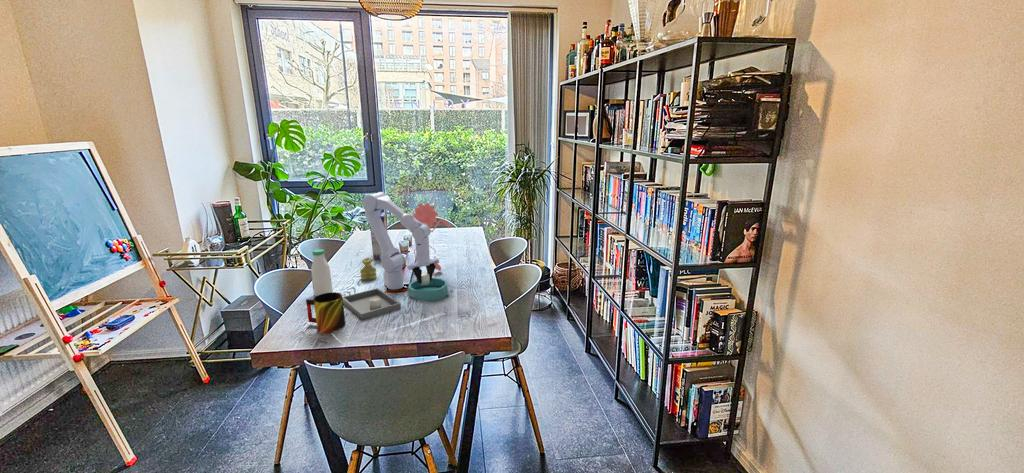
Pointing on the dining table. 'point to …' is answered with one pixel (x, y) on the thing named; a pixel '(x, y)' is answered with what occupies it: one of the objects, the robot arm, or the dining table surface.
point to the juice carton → (375, 245)
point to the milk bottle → (320, 274)
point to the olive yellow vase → (368, 270)
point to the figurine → (428, 221)
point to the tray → (362, 307)
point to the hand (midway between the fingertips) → (424, 281)
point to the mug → (327, 312)
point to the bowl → (428, 290)
